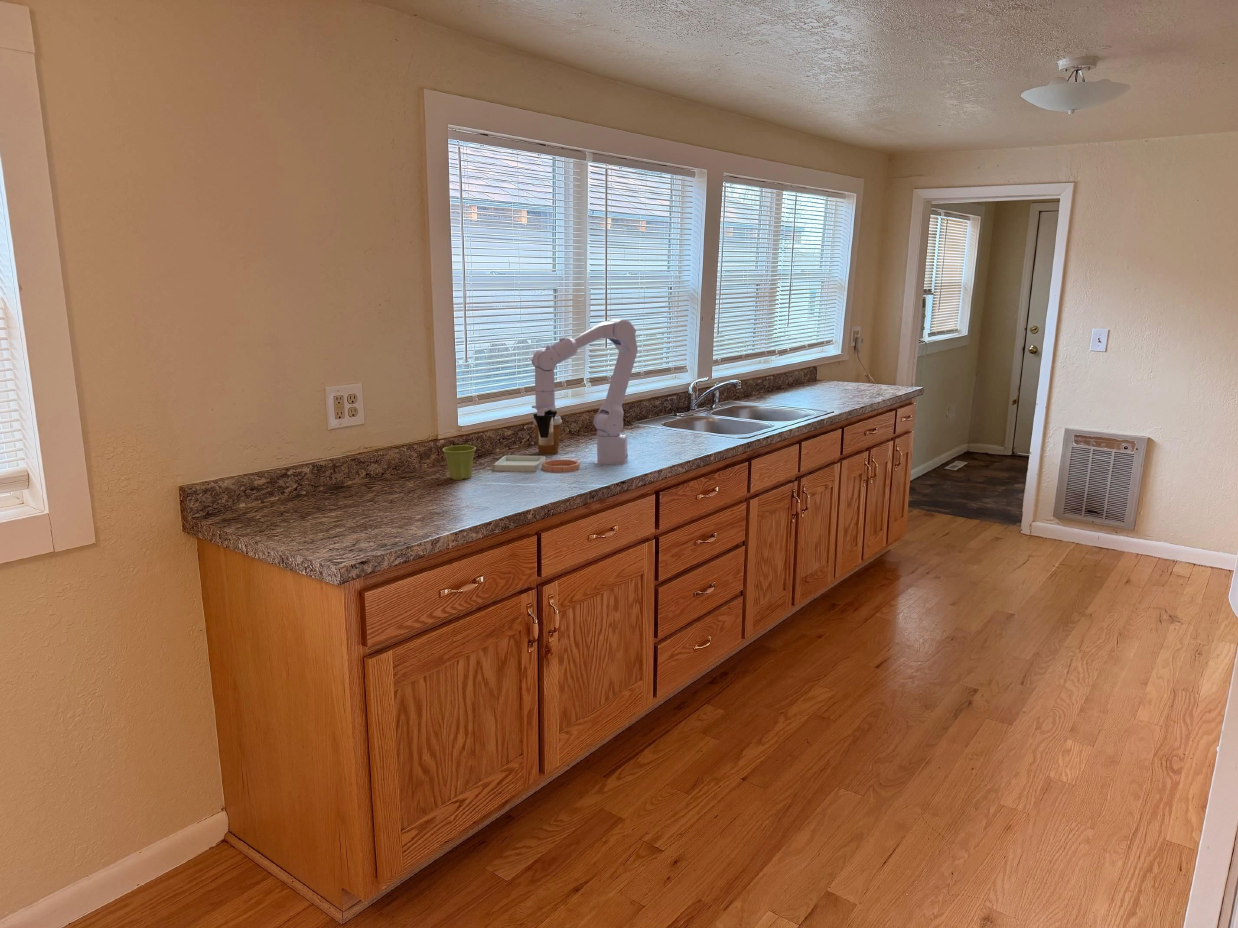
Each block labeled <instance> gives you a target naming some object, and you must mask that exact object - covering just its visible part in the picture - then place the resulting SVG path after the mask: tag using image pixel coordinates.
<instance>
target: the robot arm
mask: <svg viewBox="0 0 1238 928" xmlns="http://www.w3.org/2000/svg"><path fill="white" fill-rule="evenodd" d="M636 334H637V330H636V328H635V326H634V325H633V324H632V322H631V321H629V320H628V319H617V318H609V319H607V320H606V321H602V322H600V323H598V324H597V325H595V326H593V327H591V328H590V329H587V330H586V331H585V332H582V333H581V334H579V335H578V336H576V337H574V338H571V337H563V336H562V337H560V338H558V340H559V341H557V342H555V343H552V344H551V345H549V344H548V345H545V349H539V350H536V351H535V352H534V354H533V356H532V358H531V360H530V361H531V364H532V366H533V367H534V392H535V393H534V394H535V395H534V396H535V399H534V400H535V404H532V405H531V408H532V409H535V410H536V413H534V414H533V420H534V419H535V420H536V423H537V425H538V429H539V433H540V437H541V438H548V435H549V427H550V422H551V419H552V417H553V422H554V419H555V416H557V414H558V410H555V409H556V408H557V407H556V394H555V393H556V392H555V368H556V367H557V365H559V364H560V363H563V362H564V361H566V360H568V359H570V358H572V357H574V356H575V355H577V352H578V350H579V349H581V348H583V347H585V346H587V345H589V344H591V343H593V342H596V341H598V340H600V339H608V340H609V341H610V342H611V343H613V345H614V347H615V348H616V350H617V352H618V354H617V359H616V362H615V365H614V368H613V369H614V370H613V372H612V376H611V378H610V379H611V380H610V382H609V387H608V390H607V394H606V397H605V400H604V402H603V403H602V404H601V405H600V407H599V410H598V412H597V413H596V414H595V415H594V418H593V425H594V428H596V430H597V431H596V460H595V461H594V463H593V464H594V465H595V464H596V465H626V464H627V462H628V460H629V458H628V457H629V453H628V435H627V434H621V433H622V431H623V428H624V414H625V413H624V409H623V404H624V399H625V396H626V392H627V389H628V385H629V382H630V378H631V376H632V372H633V368H634V364H635V362H636V357H637V354H638V342H637V338H636Z"/></svg>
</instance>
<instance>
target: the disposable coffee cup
mask: <svg viewBox="0 0 1238 928" xmlns="http://www.w3.org/2000/svg"><path fill="white" fill-rule="evenodd" d="M562 422H563V420H562V418H561V415H560V416H559V415H556V416H555V419H554V422H553V440H554V444H553V445H539V429H538V425H537V423H536V420H535V419H534V418H533V420H532V423H533V424H534V431H535V438H536V443H537V449H538V454H540V455H541V456H546V455H548V456H549V455H552V454H553V455H556V454H558V453H559V444H560V437H561V426H562V425H561V424H562Z"/></svg>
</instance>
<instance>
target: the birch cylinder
mask: <svg viewBox="0 0 1238 928" xmlns="http://www.w3.org/2000/svg"><path fill="white" fill-rule="evenodd" d="M553 444H554V440H553V417H552V419H551V422H550V427H549V435H548V438H541V437H540V433H539V445H553Z"/></svg>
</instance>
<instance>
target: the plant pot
mask: <svg viewBox="0 0 1238 928" xmlns="http://www.w3.org/2000/svg"><path fill="white" fill-rule="evenodd" d="M476 449H477V447H476V446H474V445H466V444H465V445H463V444H462V445H461V444H460V445H450V446H446V447H443V448H442V452H443V454H444V457H445V459H446V465H447V468H448V474H449V478H450V479H452V480H455V481H456V480H457V481H462V480H463V479H466V480H467V479H471V478H472V474H473V461H474V455H475V451H476Z"/></svg>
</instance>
